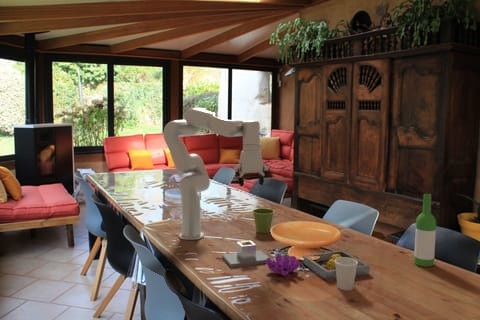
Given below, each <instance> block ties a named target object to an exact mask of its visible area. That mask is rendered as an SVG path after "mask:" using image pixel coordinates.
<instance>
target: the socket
mask: <svg viewBox="0 0 480 320" xmlns="http://www.w3.org/2000/svg"><path fill="white" fill-rule="evenodd" d="M256 251H257V244H255V243H254V242H253V241H252V240H244V241H243V240H242V241H237V242H236V253H237V256H238V257H239V258H240V259H241V260H248V259H256Z"/></svg>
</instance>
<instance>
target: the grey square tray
mask: <svg viewBox="0 0 480 320" xmlns="http://www.w3.org/2000/svg"><path fill="white" fill-rule="evenodd" d="M313 254H314V255H313V256H320V258H319V259H317V261H325V262H327V260H330V259H331V256H332V255H335V254H339V255H340V256H341V257H348V258H352V259H355V260H356V261H357V262H358V264H357V268H356V274H355V277H360V276H368V275H370V268H371V266H370V265H369V264H367V263H366V262H364V261H362V260H361V259H359V258H356V257H355V256H353V255H351V254H349V253H348V252H347V251H344V250H336V251H335V250H334V251H328V252H319V253H318V252H317V253H313ZM308 256H312V255H310V254H304V255H302V259H303V258H304V261H303V260H302V263H303V262H304V263H305V264H306V265H307V266H308V267H309V268H308V267H307V266H306V265H305V266H306V267H307V268H308V269H310V270H311V271H312V272H314V274H317V276H319V277H320V278H322V279H323V280H324V281H326V282H328V281H334V280H337V277H336V268H334V270H330V269H326V268H325V267H323V266H322V265H320V264H319V262H317V263H316V262H315V261H313V260H312V259H310V258H309V257H308Z"/></svg>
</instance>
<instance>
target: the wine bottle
mask: <svg viewBox="0 0 480 320" xmlns="http://www.w3.org/2000/svg"><path fill="white" fill-rule="evenodd" d="M431 208H432V194H431V193H424V194H423V200H422V213H420V214H419V215H418V216H417V217H416V220H415V236H414V252H413V253H414V254H413V257H414V258H413V262H414V264H416V265H417V266H419V267H424V268H425V267H426V268H429V267H432V266H433V265H434V263H435V251H436V249H435V248H436V235H437V234H436V231H437V230H436V229H437V228H436V227H437V222H436V221H437V219H436V218H435V216H434V215H433V214H432V213H431V210H432V209H431Z"/></svg>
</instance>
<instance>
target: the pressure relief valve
mask: <svg viewBox="0 0 480 320" xmlns="http://www.w3.org/2000/svg"><path fill="white" fill-rule="evenodd" d="M340 257H341V256H340V255H339V254H335V255H332V256H331V259H330V260H329V261H326V266H327V269H328V270H335V269H336V266H335V262H334V260H335V259H336V258H340Z"/></svg>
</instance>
